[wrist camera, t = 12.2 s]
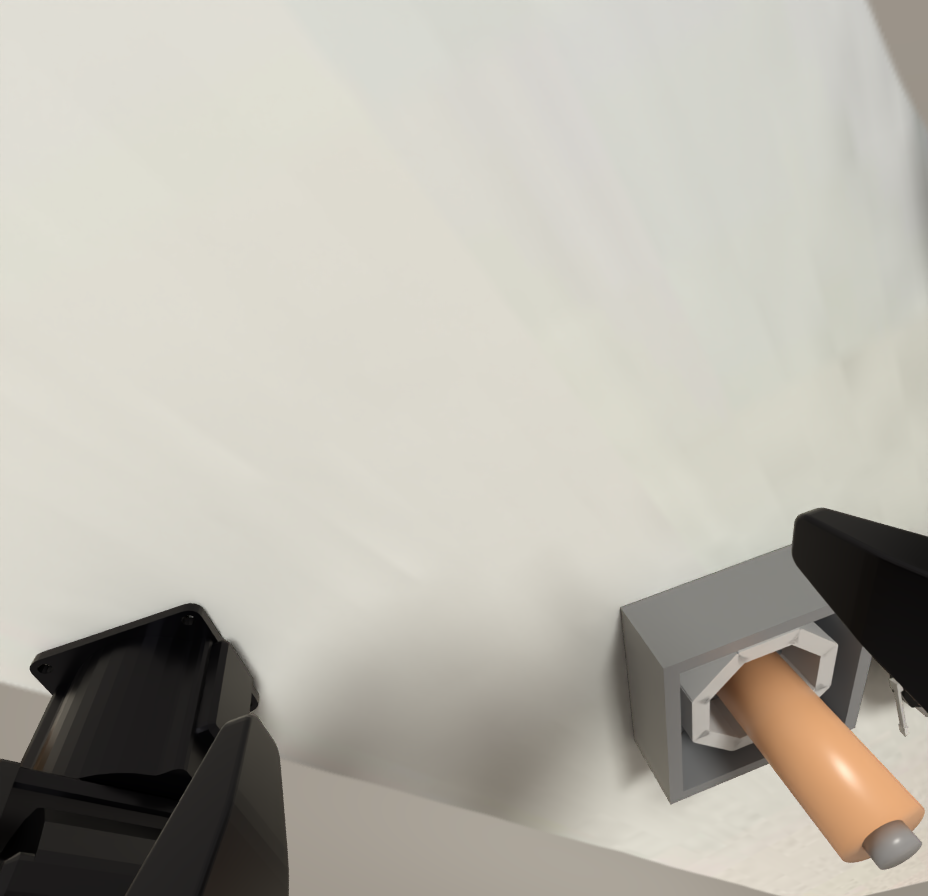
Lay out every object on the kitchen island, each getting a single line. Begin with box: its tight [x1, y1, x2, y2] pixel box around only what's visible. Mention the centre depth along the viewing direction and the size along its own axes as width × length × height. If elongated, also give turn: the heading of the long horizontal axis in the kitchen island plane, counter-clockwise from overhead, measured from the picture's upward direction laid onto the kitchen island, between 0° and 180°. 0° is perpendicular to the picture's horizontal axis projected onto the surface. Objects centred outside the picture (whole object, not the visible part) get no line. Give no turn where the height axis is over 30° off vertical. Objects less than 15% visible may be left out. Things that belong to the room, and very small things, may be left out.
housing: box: [621, 544, 872, 804], centre depth 30 cm, size 12×12×4 cm
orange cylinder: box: [716, 651, 925, 870], centre depth 27 cm, size 4×4×10 cm
